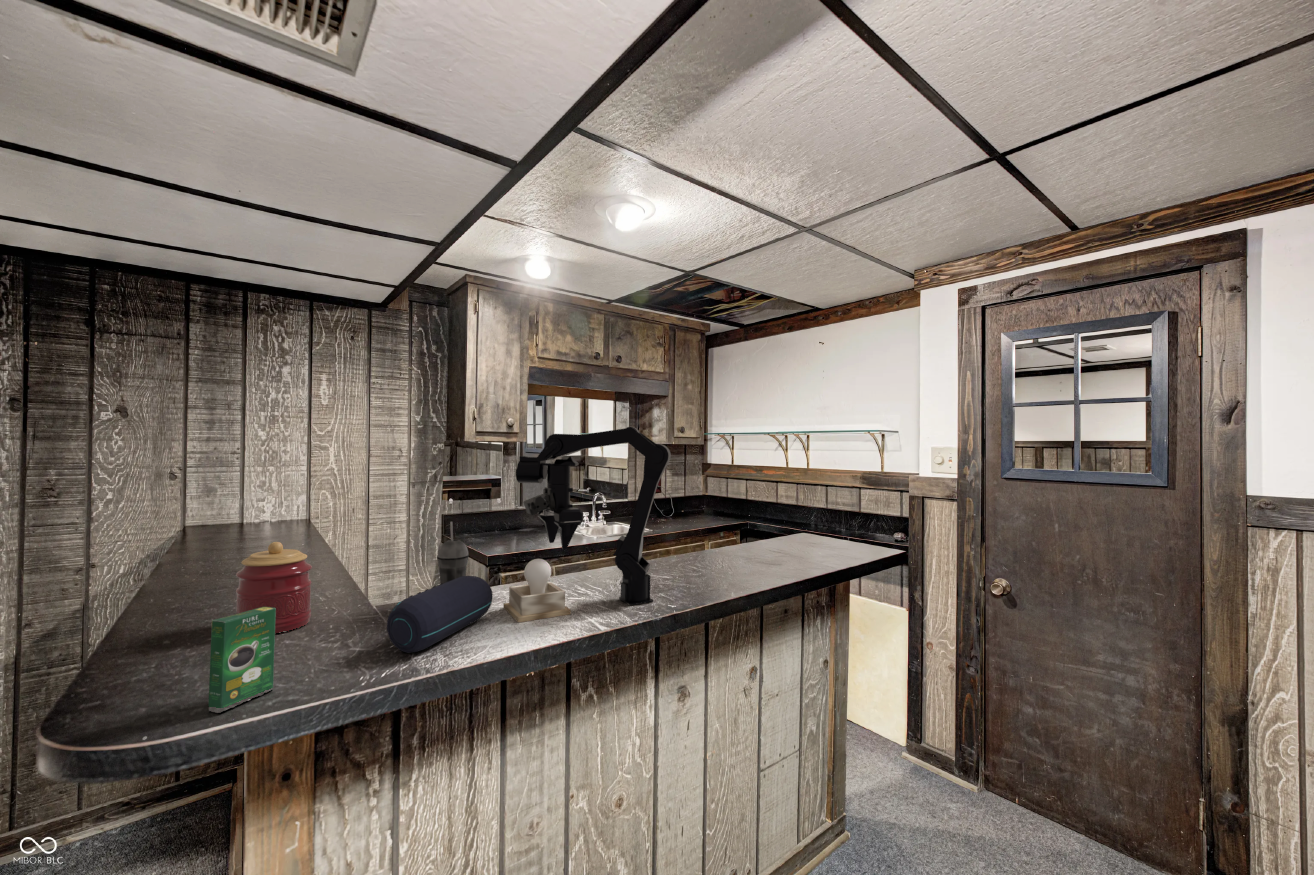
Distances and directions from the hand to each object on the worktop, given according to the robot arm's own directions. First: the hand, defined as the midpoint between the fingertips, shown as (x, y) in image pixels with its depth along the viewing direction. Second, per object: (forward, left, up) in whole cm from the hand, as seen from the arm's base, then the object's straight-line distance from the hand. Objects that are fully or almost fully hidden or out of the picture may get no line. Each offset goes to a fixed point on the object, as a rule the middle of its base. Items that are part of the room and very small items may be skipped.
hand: (557, 545), depth 137 cm
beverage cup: (+24, -6, -13) cm, 28 cm away
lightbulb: (+8, +8, -12) cm, 17 cm away
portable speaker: (+29, +14, -13) cm, 35 cm away
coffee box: (+60, +29, -13) cm, 68 cm away
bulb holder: (+8, +8, -13) cm, 17 cm away
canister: (+59, -8, -13) cm, 61 cm away
